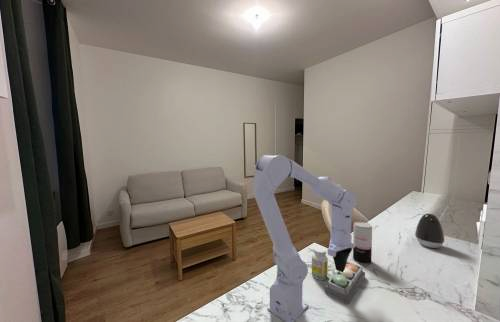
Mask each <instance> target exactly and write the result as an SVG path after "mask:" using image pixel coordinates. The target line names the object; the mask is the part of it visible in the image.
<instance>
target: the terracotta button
mask: <svg viewBox="0 0 500 322" xmlns="http://www.w3.org/2000/svg"><path fill="white" fill-rule="evenodd" d="M353 264H354V263H353ZM353 264H346V268H349V269H351V270H352V271H353V272H356V273H357V272H358V267H357V266H355V265H353Z"/></svg>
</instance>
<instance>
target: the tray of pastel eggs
mask: <svg viewBox="0 0 500 322" xmlns="http://www.w3.org/2000/svg"><path fill="white" fill-rule="evenodd" d="M346 264H353V265H355V266H357V267H358V272H357V273H356V272H353V278H352V279H347V286H346V287H340V286H337V285H335V284H334V283H333V276H334V275H335V274H340V271H338V270H336V272H335V273H334V274H333V275H332V276H331V278H330V279H328V281H327V284H326V285H324V293H325V294H326V295H327V294H328V295H329V296H331V297H333V298H335V299H338V300H339V301H341V302H343V303H345V304H347V305H349V303H350V302H351V301H352V299H353V297H354V296H355V294H356V293H357V291H358V290H359V288H360V286H361V285H362V283H363V282H364V280H365V278H366V272H365V271H364V270H363V269H364V267H363V266H361V265H358V264H355V263H352V262H350V261H347V263H346Z"/></svg>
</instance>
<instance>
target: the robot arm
mask: <svg viewBox="0 0 500 322" xmlns="http://www.w3.org/2000/svg"><path fill="white" fill-rule="evenodd" d="M253 170H254V178H253V185H252V193H253V196H254V199H255V201H256V204H257V206H258V209H259V211H260V214H261V217H262V219H263V223H264V224H265V227H266V229H267V232H268V236H269V237H270V240H271V242H272V245H273V246H272V252H273V262H274V264H275V265H276V278H275V281H274V282H273V283H272V284H271V286H270V288H269V305H268V306H267V310H268V311H270V312H271V313H273V315H276V316H277V317H278V318H280V319H282V320H283V321H284V322H295V321H296V320H297V319H298V318H299V316H300V315H302V313H303V312H304V311H305V310H306V309H307V307H308V306H309V302H307V301H305V300H303V282H304V280H305V279H306V278H307V276H308V274H309V273H308V272H309V269H308V265H307V263H306V262H305V261H303V259H302V258H301V256H300V254H299V252H298V250H297V249H296V248H295V246H294V245H293V242H292V239H291V236H290V234H289V231H288V228H287V226H286V224H285V220H284V218H283V215H282V213H281V210H280V207H279V205H278V203H277V199H276V197H275V192H276V190H277V188H278V187H279V186H280V185H281V184H282V183H283V182H284V181H285V180H286V179H287V178H294V179H296V180H297V181H300V182H301V183H304V184H305V185H307V186H309V187H311V191H312V193H313V194H314V195H316V196H318V197H320V198H322V199H323V200H325V201H326V202H327V204H329V205H331V206H330V210H331V211H330V239H329V247H328V248H327V256H330V257H332V259H333V262H334V267H335V270H336V271H341V272H343V271H344V270H345V267H346V263H347V262H348V258H349V257H350V254H351V253H352V252H353V248H354V247H355V244H353V242H352V241H353V239H352V237H353V234H352V216H353V213H354V208H355V207H356V205H357V198H356V196H355V194H354V193H353V192H352V191H351V190H347V189H344V188H343V186H342V185H341V184H338V183H335V182H334V181H332V178H331V177H329V176H316V175H314V174H313V173H312V172H310V171H309V170H308V169H306V168H305V167H303V166H301V165H300V164H298V163H297V162H296V161H294V160H293V159H290V158H287V156H285V155H282V154H281V155H280V154H278V155H271V154H264V155H262V156H260V157H259V159H258V160H257V162H256V164H255V165H254V168H253Z"/></svg>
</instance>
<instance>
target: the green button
mask: <svg viewBox="0 0 500 322" xmlns="http://www.w3.org/2000/svg"><path fill="white" fill-rule="evenodd" d="M334 274H335V273H334ZM334 274H333V275H334ZM333 275H332V276H333ZM333 283H334V284H335V285H337V286H340V287H346V286H347V278H346V277H345V276H343V275H340V274H335V275H334V276H333Z"/></svg>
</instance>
